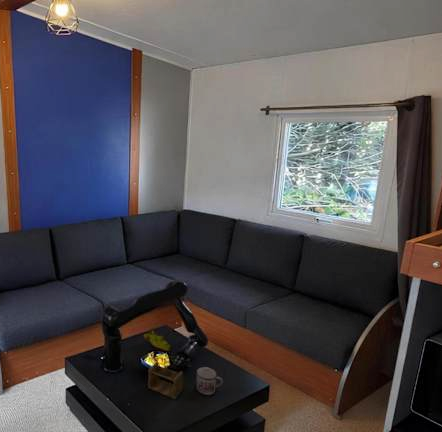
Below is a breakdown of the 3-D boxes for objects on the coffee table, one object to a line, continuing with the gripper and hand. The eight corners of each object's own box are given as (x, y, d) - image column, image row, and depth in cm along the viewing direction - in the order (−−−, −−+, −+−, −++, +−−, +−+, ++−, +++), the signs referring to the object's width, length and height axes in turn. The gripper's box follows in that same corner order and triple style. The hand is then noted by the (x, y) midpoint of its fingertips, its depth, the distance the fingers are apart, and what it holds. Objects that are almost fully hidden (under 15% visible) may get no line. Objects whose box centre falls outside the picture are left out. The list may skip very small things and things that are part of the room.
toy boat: (150, 338, 238) (150, 323, 236) (173, 352, 223) (174, 336, 221) (142, 342, 234) (142, 326, 232) (165, 356, 220) (165, 339, 218)
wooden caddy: (148, 387, 193) (148, 369, 191) (155, 379, 200) (156, 361, 197) (175, 399, 185) (175, 380, 183) (182, 390, 191) (183, 371, 189)
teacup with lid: (196, 394, 188) (197, 372, 186) (194, 382, 197) (196, 361, 194) (223, 397, 186) (225, 375, 183) (220, 385, 195) (222, 363, 192)
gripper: (174, 343, 213) (160, 358, 200) (198, 351, 205) (185, 367, 192) (174, 356, 215) (159, 371, 201) (198, 364, 207) (184, 381, 194)
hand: (172, 369), depth 197 cm, fingers closed
